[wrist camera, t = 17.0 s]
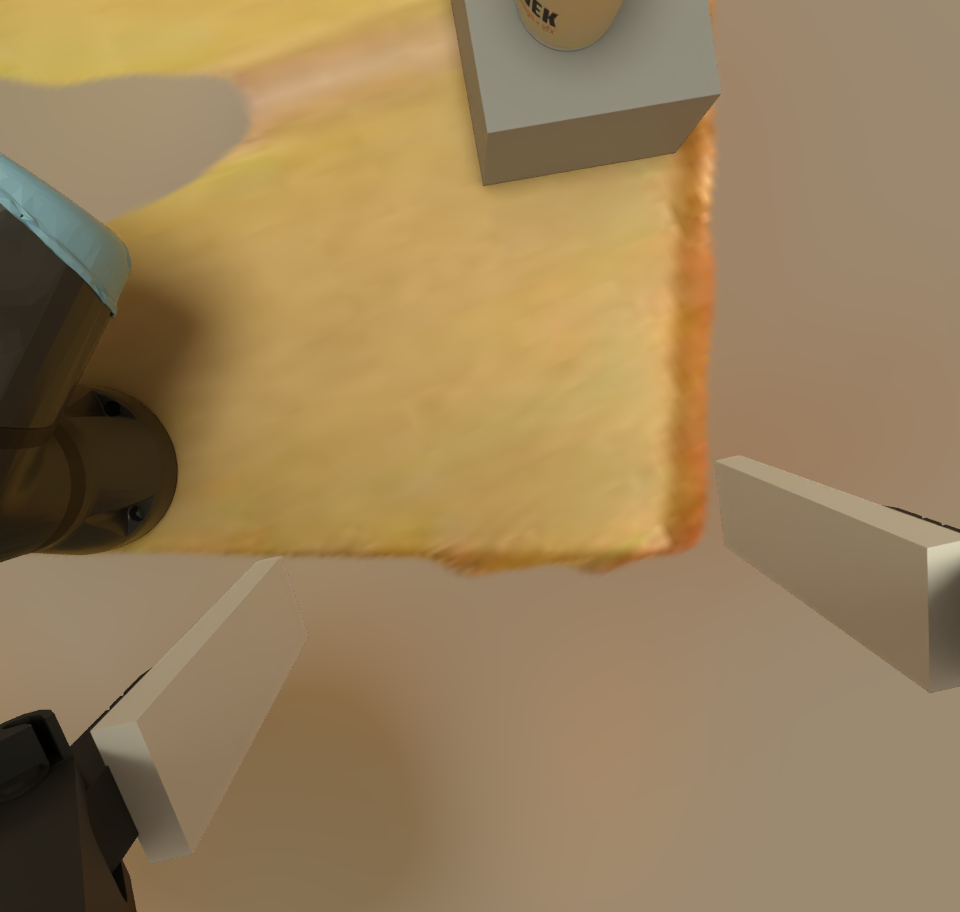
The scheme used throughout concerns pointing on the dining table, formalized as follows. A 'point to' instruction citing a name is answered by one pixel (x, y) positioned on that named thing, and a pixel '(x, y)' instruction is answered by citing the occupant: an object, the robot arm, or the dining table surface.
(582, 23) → the coffee cup
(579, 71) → the grey box
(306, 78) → the dining table surface
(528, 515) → the dining table surface
